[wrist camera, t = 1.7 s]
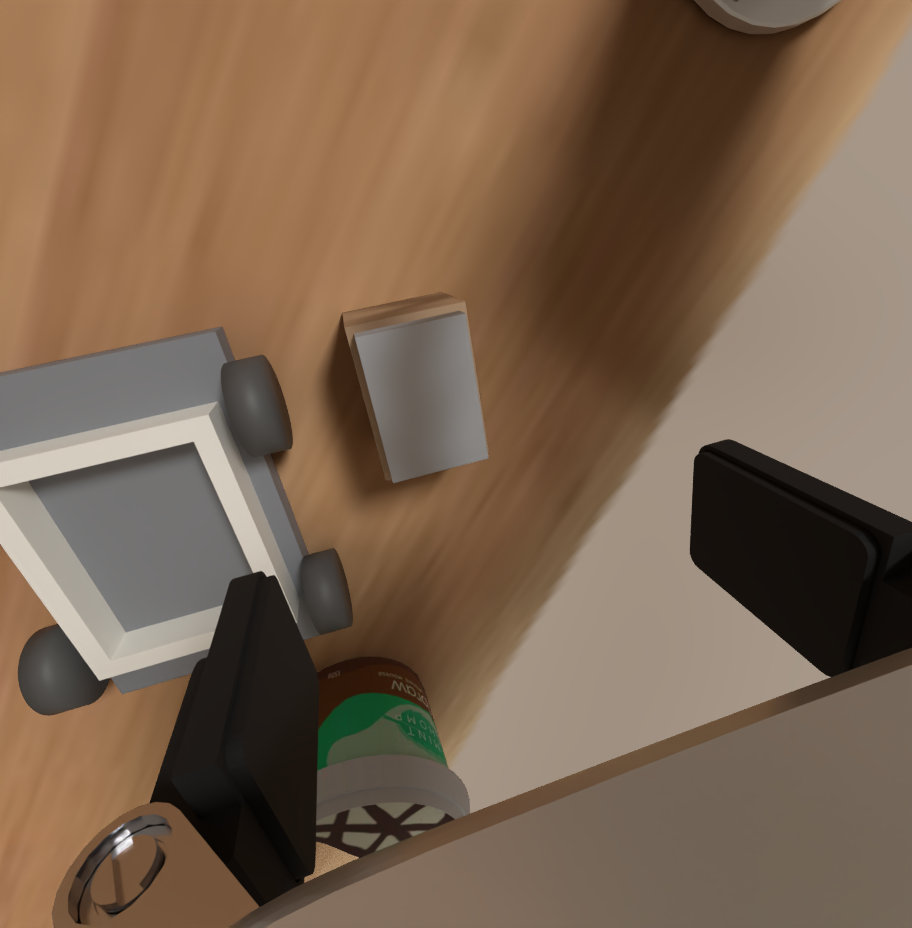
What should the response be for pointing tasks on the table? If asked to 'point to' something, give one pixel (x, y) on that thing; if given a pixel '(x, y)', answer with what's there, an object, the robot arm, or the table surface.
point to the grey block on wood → (419, 384)
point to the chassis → (148, 511)
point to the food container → (379, 759)
